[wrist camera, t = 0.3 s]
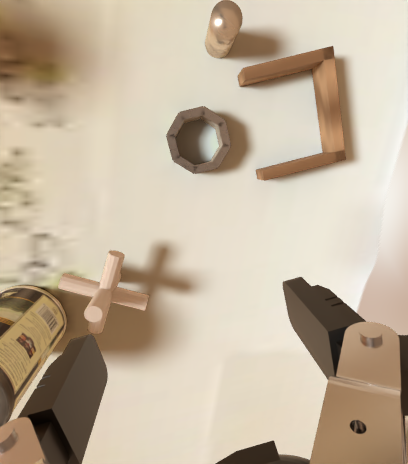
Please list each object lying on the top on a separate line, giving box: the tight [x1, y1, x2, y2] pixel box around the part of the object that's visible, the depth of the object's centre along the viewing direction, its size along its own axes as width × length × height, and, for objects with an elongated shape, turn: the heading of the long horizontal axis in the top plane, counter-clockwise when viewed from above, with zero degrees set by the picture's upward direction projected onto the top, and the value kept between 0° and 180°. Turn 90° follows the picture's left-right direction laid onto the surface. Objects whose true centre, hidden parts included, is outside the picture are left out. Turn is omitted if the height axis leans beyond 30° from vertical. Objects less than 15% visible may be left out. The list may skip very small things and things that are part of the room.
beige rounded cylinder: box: [205, 0, 242, 58], centre depth 30 cm, size 3×3×6 cm
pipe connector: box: [58, 251, 149, 334], centre depth 34 cm, size 10×10×10 cm
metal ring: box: [166, 106, 231, 174], centre depth 34 cm, size 7×7×3 cm
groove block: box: [238, 46, 346, 180], centre depth 34 cm, size 12×10×3 cm
